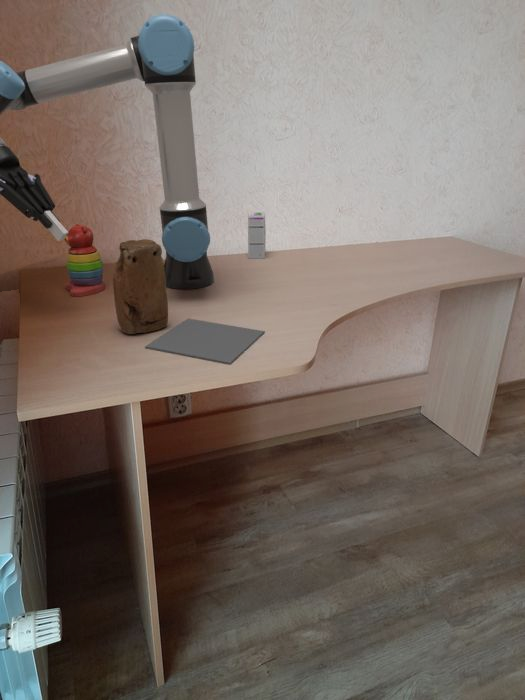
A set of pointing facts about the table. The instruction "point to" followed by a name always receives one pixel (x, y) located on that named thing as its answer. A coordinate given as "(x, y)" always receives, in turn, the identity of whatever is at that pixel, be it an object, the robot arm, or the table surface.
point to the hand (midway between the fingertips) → (63, 236)
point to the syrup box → (256, 235)
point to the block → (140, 287)
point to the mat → (206, 340)
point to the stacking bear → (83, 263)
